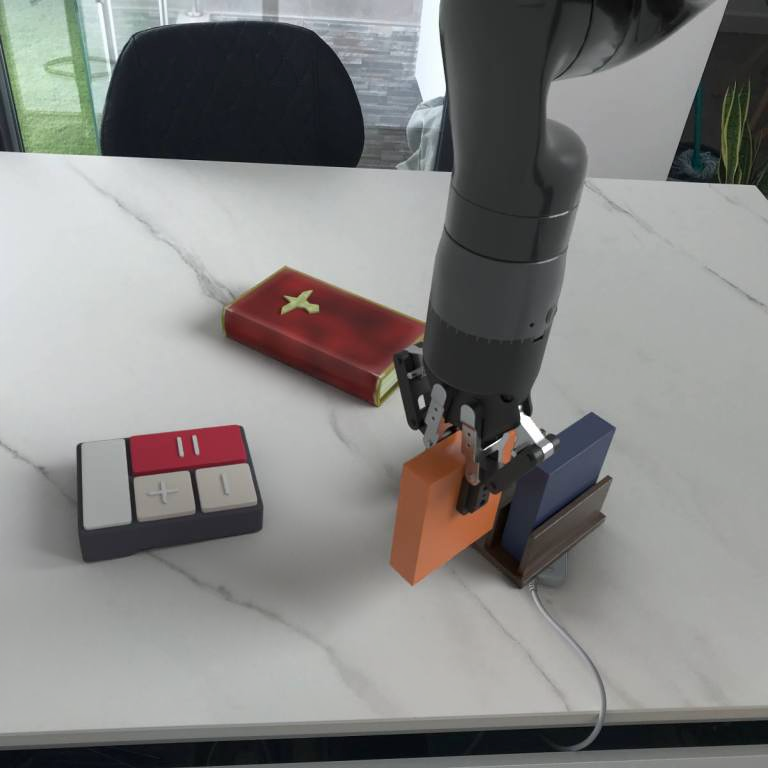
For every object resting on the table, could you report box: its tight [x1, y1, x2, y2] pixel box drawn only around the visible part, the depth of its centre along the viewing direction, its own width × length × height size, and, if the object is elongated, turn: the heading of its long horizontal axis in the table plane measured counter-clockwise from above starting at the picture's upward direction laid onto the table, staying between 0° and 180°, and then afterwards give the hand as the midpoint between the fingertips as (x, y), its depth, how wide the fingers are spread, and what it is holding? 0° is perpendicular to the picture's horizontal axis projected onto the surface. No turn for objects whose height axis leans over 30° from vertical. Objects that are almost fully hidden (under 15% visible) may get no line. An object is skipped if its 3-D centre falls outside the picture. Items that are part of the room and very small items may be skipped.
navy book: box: [500, 411, 617, 562], centre depth 66 cm, size 3×9×11 cm, turn 132°
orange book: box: [389, 430, 516, 587], centre depth 57 cm, size 3×9×11 cm, turn 132°
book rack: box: [469, 427, 614, 590], centre depth 71 cm, size 13×12×6 cm
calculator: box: [75, 424, 264, 563], centre depth 69 cm, size 11×4×15 cm
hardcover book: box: [221, 265, 426, 408], centre depth 89 cm, size 12×21×4 cm, turn 59°
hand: (453, 494), depth 57 cm, fingers closed on orange book, 2 cm apart
